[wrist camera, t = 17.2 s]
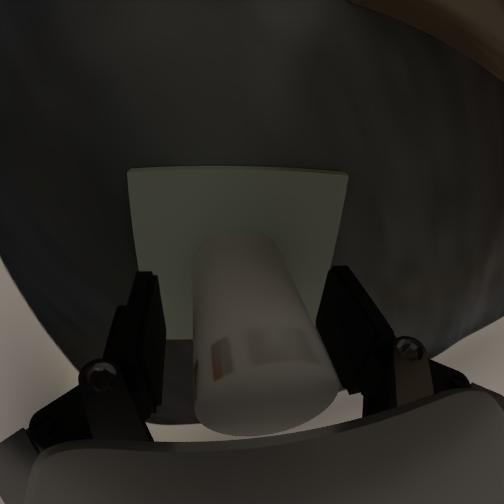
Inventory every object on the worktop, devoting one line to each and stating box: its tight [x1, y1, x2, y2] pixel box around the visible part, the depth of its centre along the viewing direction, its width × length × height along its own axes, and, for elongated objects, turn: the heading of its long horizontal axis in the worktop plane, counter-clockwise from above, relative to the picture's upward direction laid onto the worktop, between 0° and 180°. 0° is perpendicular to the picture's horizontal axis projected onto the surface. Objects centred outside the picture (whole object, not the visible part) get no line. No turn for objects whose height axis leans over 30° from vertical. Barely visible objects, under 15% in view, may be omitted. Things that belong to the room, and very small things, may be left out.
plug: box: [193, 228, 339, 436], centre depth 10 cm, size 4×4×7 cm
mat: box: [127, 166, 349, 339], centre depth 13 cm, size 9×9×1 cm
